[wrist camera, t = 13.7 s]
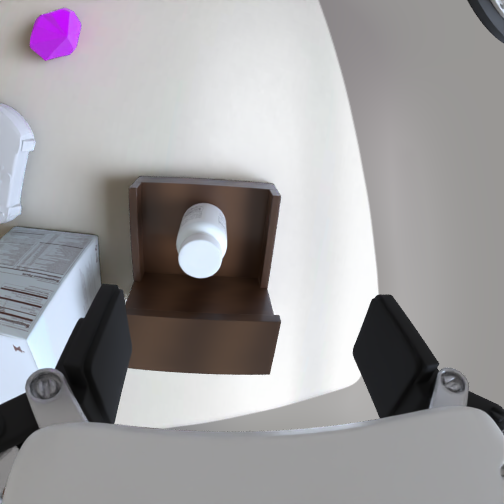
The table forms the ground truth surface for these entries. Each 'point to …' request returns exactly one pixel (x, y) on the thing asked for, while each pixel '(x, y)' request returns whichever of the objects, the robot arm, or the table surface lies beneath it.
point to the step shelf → (202, 280)
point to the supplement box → (41, 299)
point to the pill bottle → (202, 240)
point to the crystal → (55, 34)
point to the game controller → (13, 160)
